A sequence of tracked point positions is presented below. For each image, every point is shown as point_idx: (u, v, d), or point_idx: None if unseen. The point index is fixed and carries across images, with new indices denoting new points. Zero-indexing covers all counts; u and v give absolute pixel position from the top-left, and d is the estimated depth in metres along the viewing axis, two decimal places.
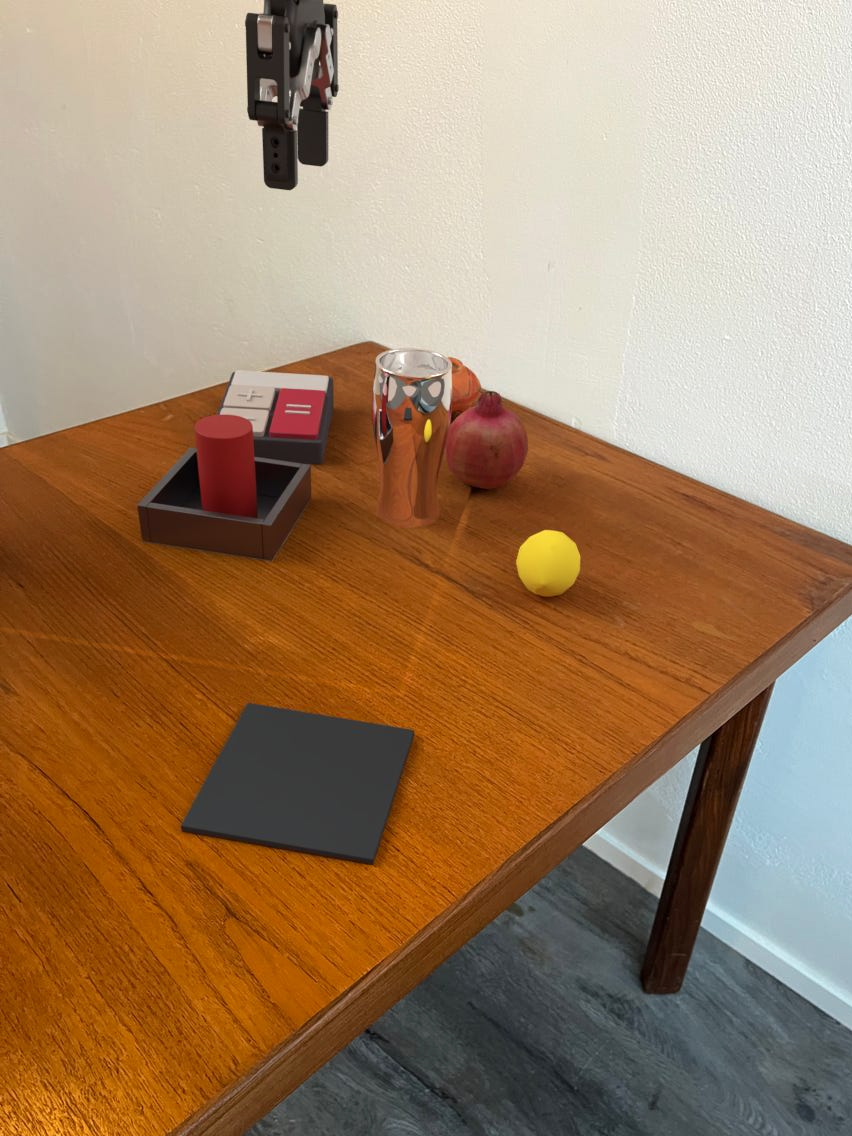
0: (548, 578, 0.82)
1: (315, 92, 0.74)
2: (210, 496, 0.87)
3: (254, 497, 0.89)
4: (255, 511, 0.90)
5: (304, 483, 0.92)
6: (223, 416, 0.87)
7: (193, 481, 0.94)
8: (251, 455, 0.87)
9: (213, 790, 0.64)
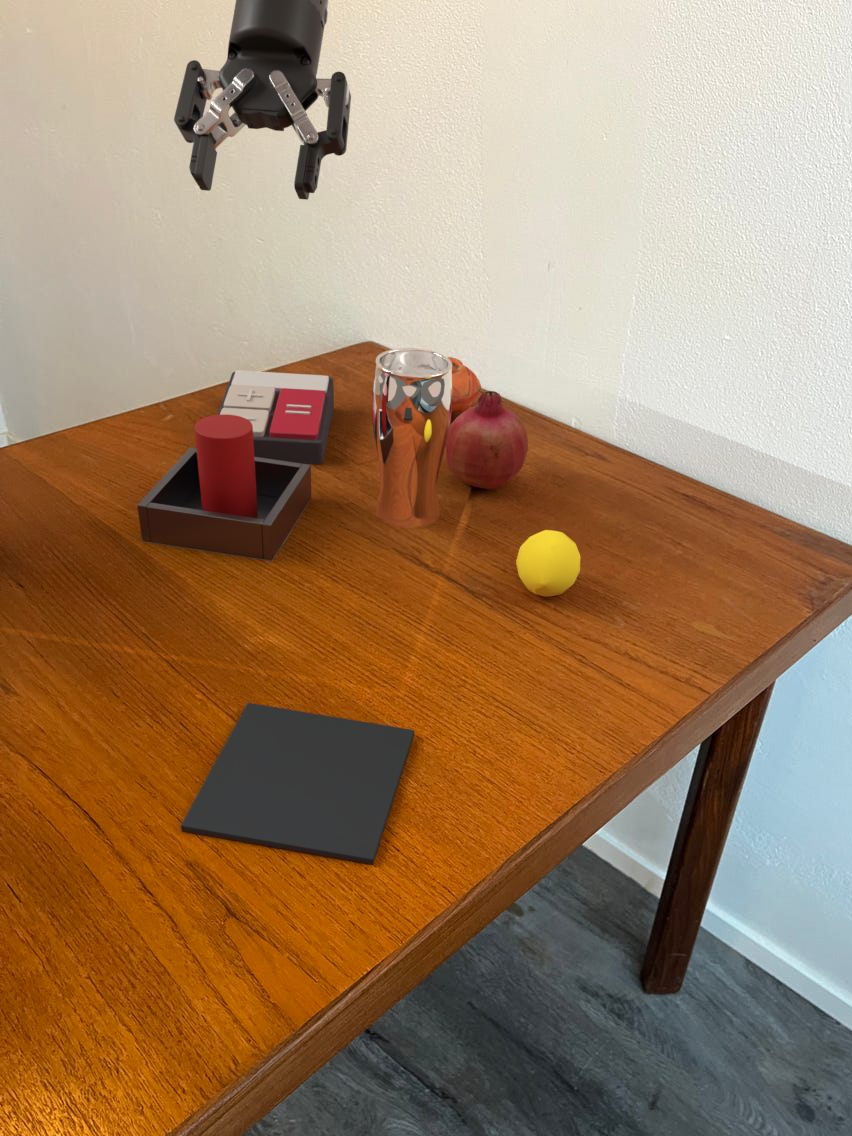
0: (548, 578, 0.82)
1: None
2: (210, 496, 0.87)
3: (254, 497, 0.89)
4: (255, 511, 0.90)
5: (304, 483, 0.92)
6: (223, 416, 0.87)
7: (193, 481, 0.94)
8: (251, 455, 0.87)
9: (213, 790, 0.64)
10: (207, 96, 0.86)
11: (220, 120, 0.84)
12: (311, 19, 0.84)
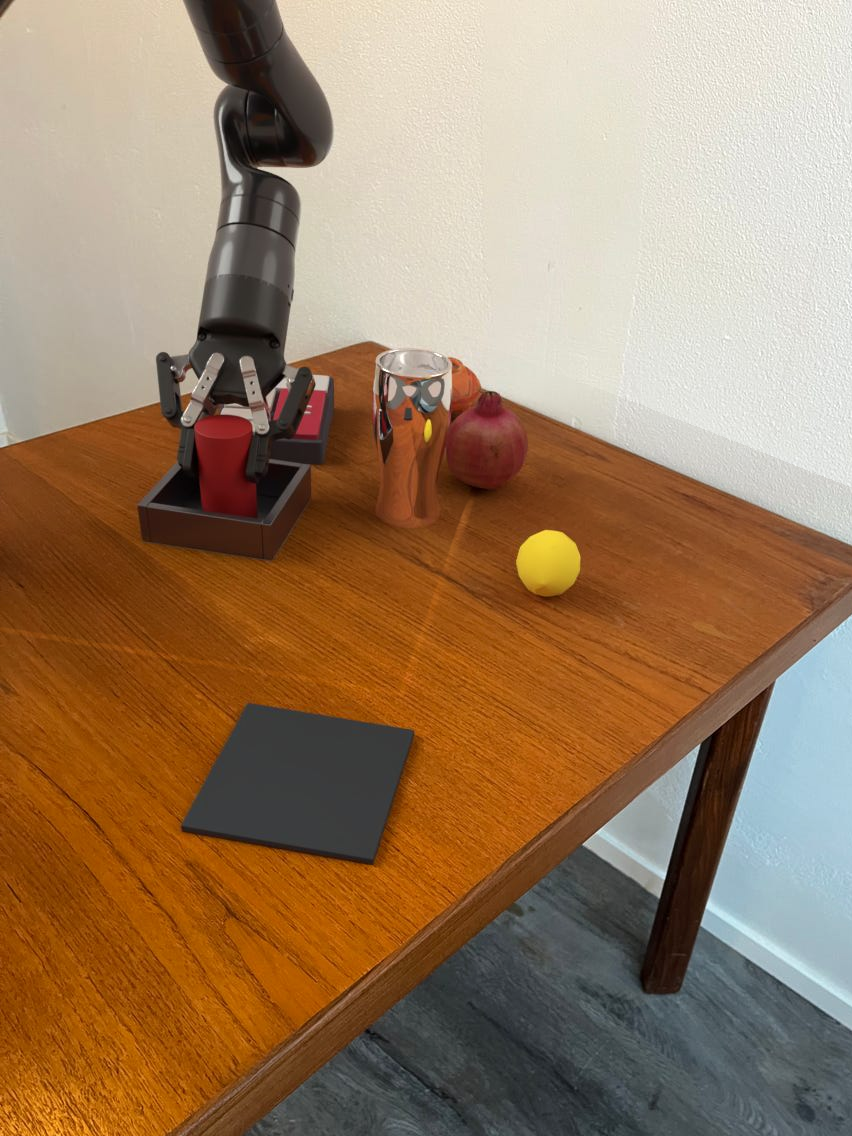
0: (548, 578, 0.82)
1: None
2: (210, 496, 0.87)
3: (254, 497, 0.89)
4: (255, 511, 0.90)
5: (304, 483, 0.92)
6: (223, 416, 0.87)
7: (193, 481, 0.94)
8: None
9: (213, 790, 0.64)
10: (181, 380, 0.88)
11: (204, 407, 0.86)
12: (280, 305, 0.87)
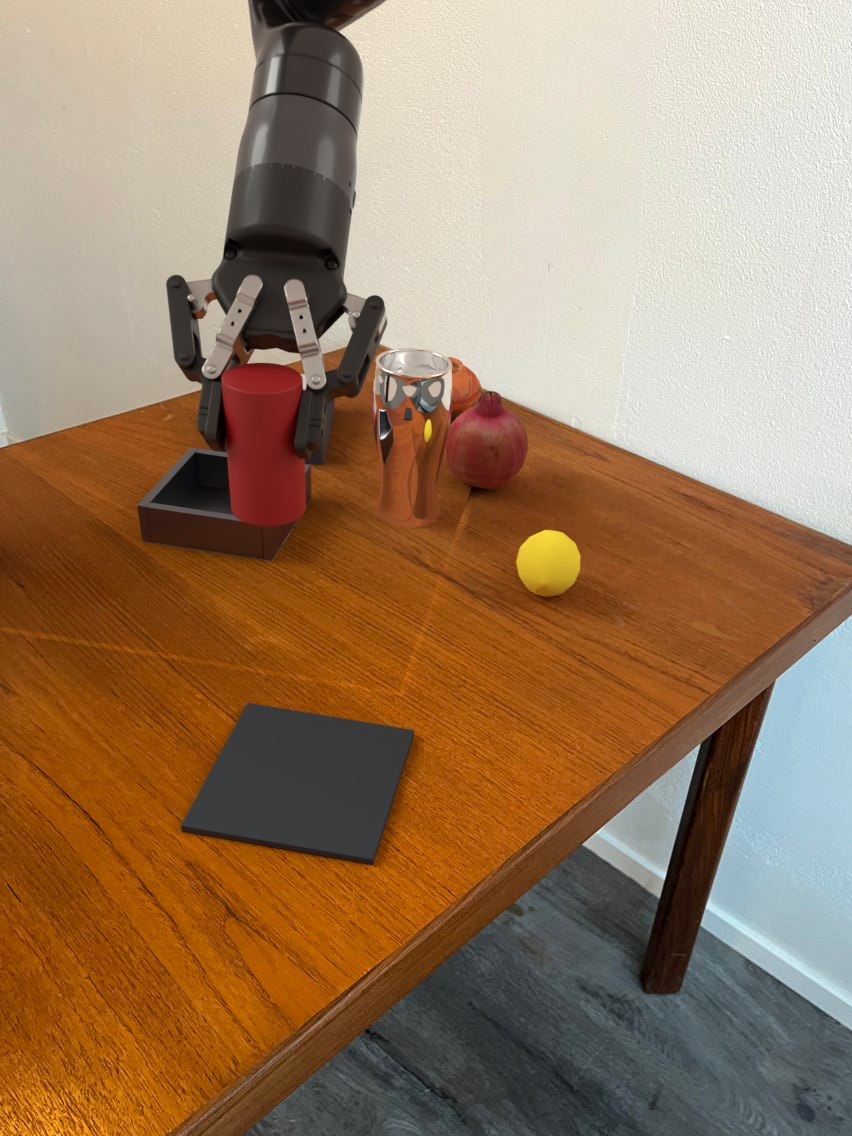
0: (548, 578, 0.82)
1: None
2: (242, 476, 0.62)
3: (302, 478, 0.64)
4: (303, 498, 0.65)
5: None
6: (260, 365, 0.62)
7: (193, 481, 0.94)
8: None
9: (213, 790, 0.64)
10: (201, 316, 0.63)
11: (234, 352, 0.62)
12: (340, 209, 0.62)
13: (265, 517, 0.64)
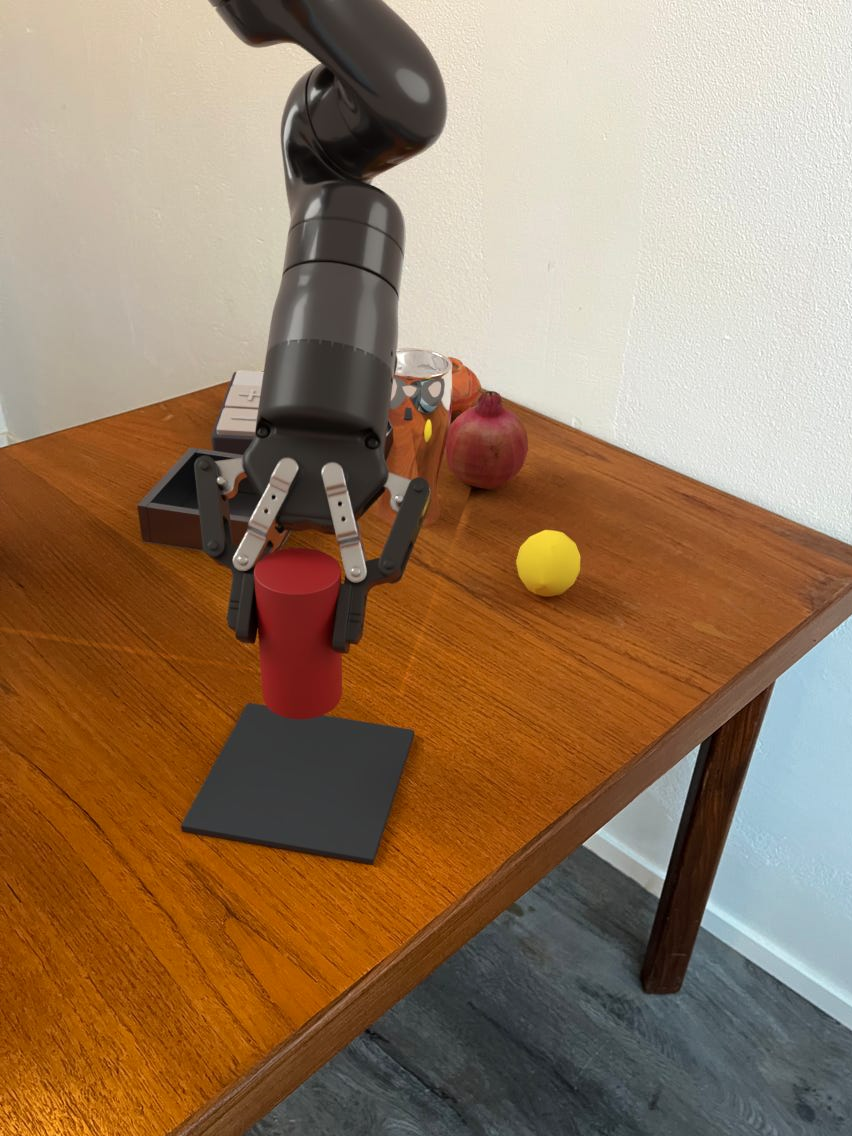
0: (548, 578, 0.82)
1: None
2: (276, 671, 0.58)
3: (339, 667, 0.60)
4: (340, 686, 0.61)
5: None
6: (295, 551, 0.58)
7: (193, 481, 0.94)
8: None
9: (213, 790, 0.64)
10: (232, 496, 0.59)
11: (267, 540, 0.57)
12: (381, 384, 0.58)
13: (299, 711, 0.59)
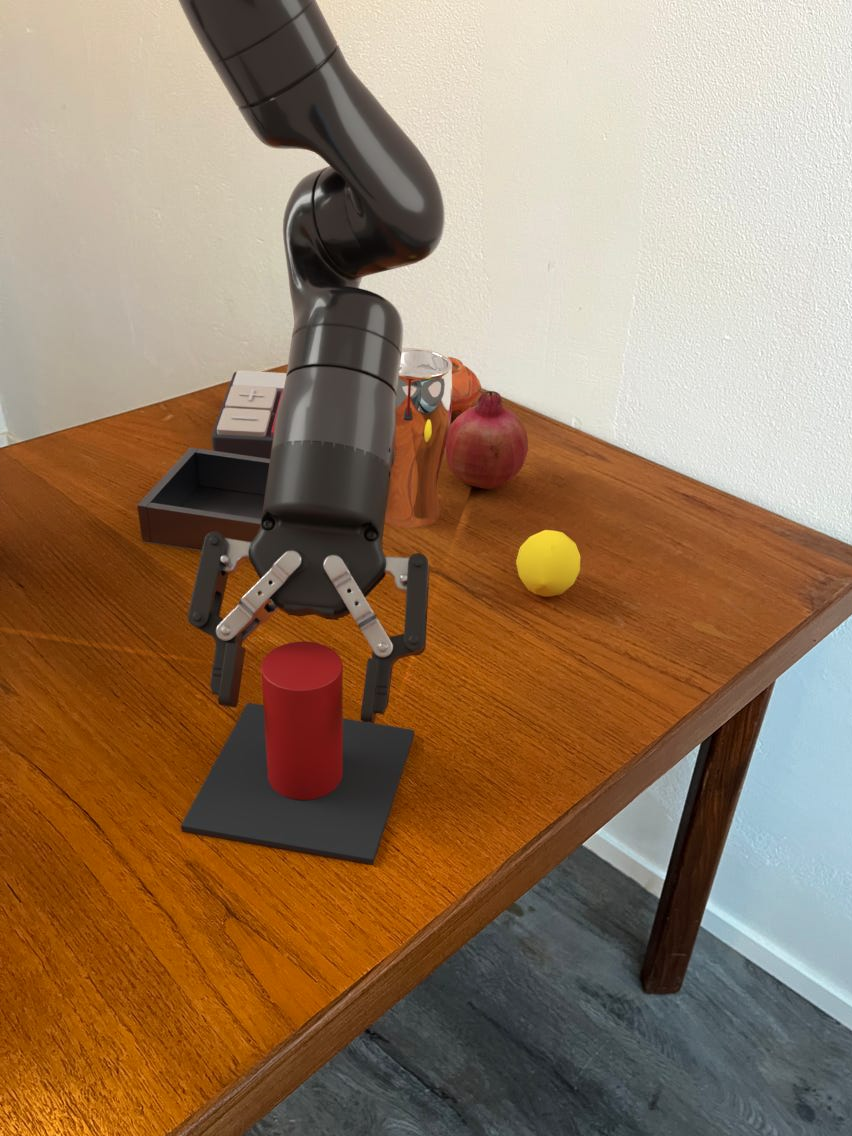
0: (548, 578, 0.82)
1: None
2: (281, 757, 0.62)
3: (340, 751, 0.64)
4: (341, 767, 0.65)
5: None
6: (300, 645, 0.62)
7: (193, 481, 0.94)
8: (340, 702, 0.61)
9: (213, 790, 0.64)
10: (231, 573, 0.62)
11: (253, 618, 0.61)
12: (379, 480, 0.61)
13: (302, 793, 0.63)
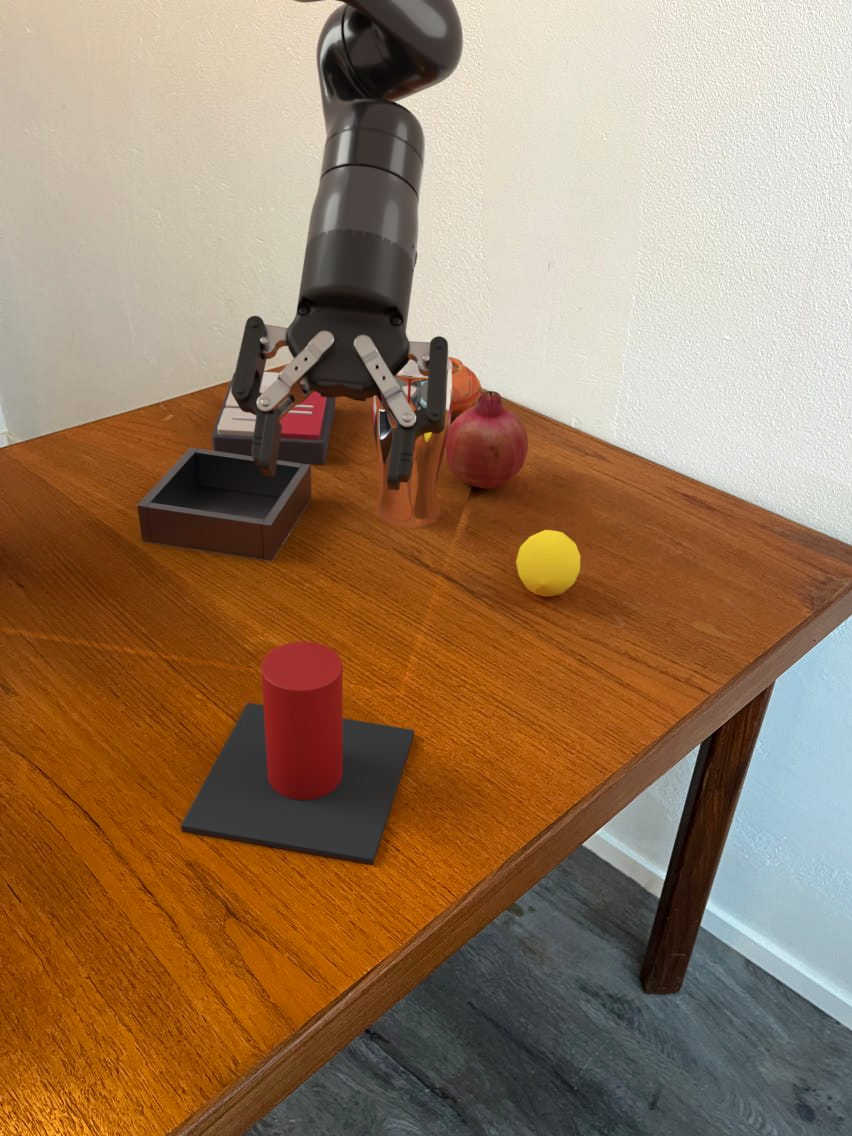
0: (548, 578, 0.82)
1: None
2: (281, 757, 0.62)
3: (340, 751, 0.64)
4: (341, 767, 0.65)
5: (304, 483, 0.92)
6: (300, 645, 0.62)
7: (193, 481, 0.94)
8: (340, 702, 0.61)
9: (213, 790, 0.64)
10: (269, 357, 0.69)
11: (290, 393, 0.67)
12: (404, 270, 0.68)
13: (302, 793, 0.63)
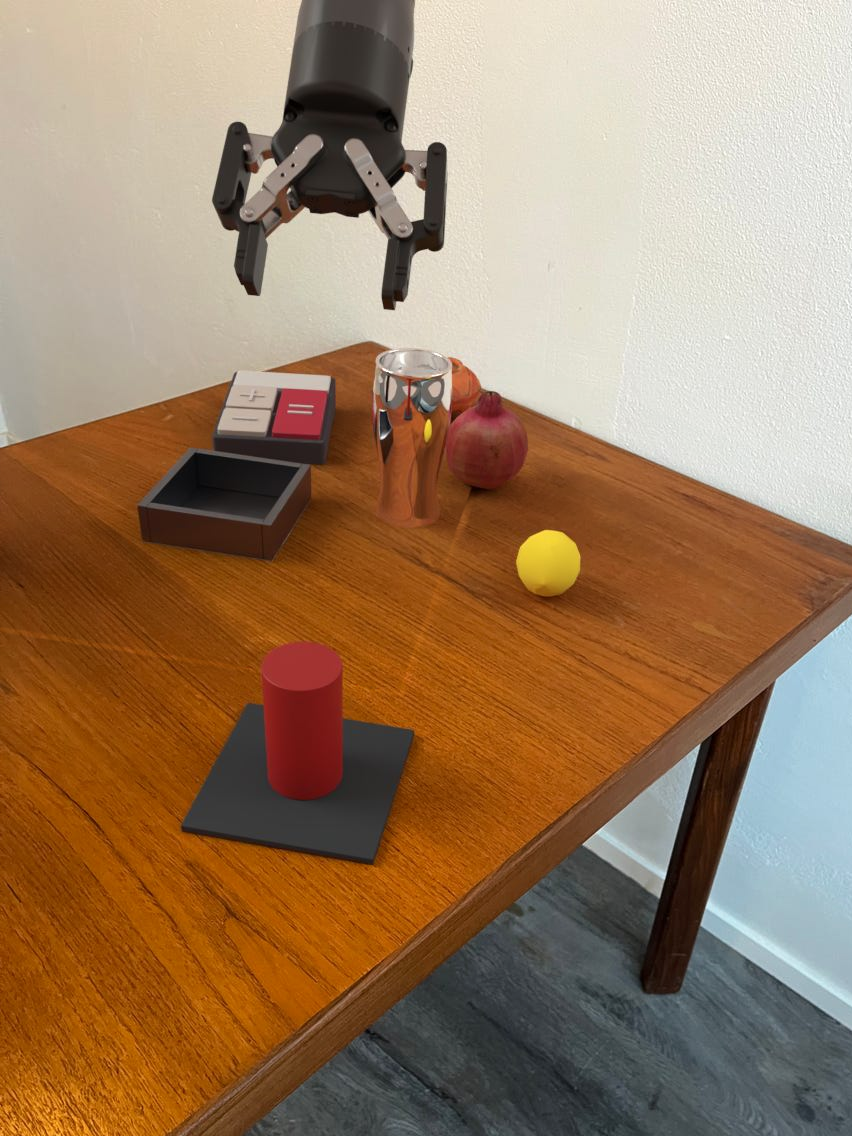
0: (548, 578, 0.82)
1: None
2: (281, 757, 0.62)
3: (340, 751, 0.64)
4: (341, 767, 0.65)
5: (304, 483, 0.92)
6: (300, 645, 0.62)
7: (193, 481, 0.94)
8: (340, 702, 0.61)
9: (213, 790, 0.64)
10: (254, 169, 0.64)
11: (276, 203, 0.62)
12: (399, 72, 0.63)
13: (302, 793, 0.63)
